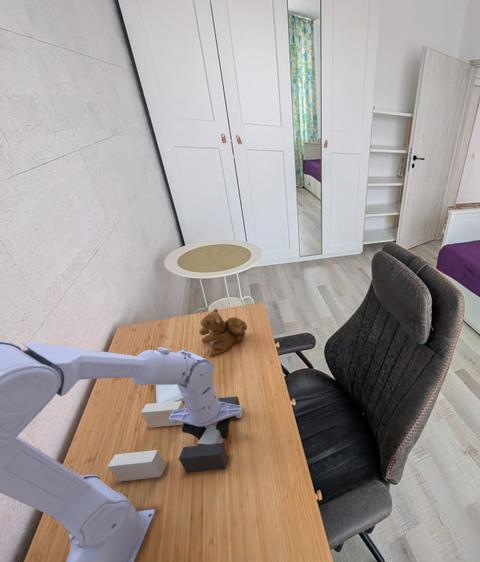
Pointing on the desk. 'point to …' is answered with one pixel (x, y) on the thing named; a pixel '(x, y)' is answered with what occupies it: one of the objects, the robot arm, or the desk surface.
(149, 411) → the white cases
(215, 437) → the usb wall charger
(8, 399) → the robot arm
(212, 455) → the grey cases
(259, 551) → the desk surface
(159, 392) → the hard drive
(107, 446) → the desk surface
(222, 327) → the stuffed squirrel
